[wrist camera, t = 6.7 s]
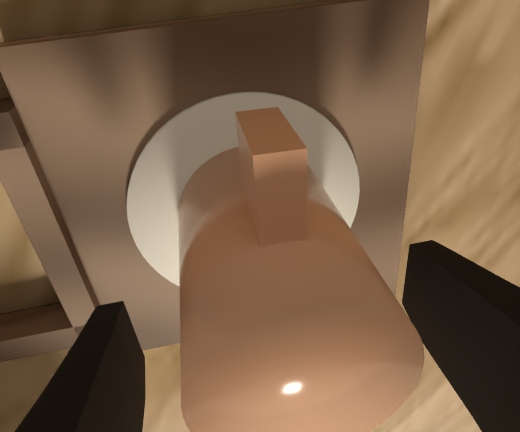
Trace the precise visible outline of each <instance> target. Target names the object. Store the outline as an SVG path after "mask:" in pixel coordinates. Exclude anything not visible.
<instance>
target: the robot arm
mask: <svg viewBox="0 0 520 432" xmlns="http://www.w3.org/2000/svg"><path fill="white" fill-rule="evenodd" d="M402 304H403V306H404V308H405V310H406V312H407V314H408V316H409V318H410V320H411V322H412V324H413V325H414V327H415V328H416V330H417V332H418V333H419V335H420V337H421V340H422V342H423V344H424V345H425V347H426V348H427V350H428V351H429V353H430V354H431V356H432V357H433V359H434V360H435V362H436V363H437V365H438V366H439V368H440V369H441V371H442V372H443V374H444V375H445V377H446V378H447V380H448V381H449V382H450V384H451V385H452V387H453V388H454V390H455V391H456V393H457V394H458V396H459V397H460V399H461V400H462V402H463V403H464V405H465V406H466V408H467V409H468V411H469V412H470V413H471V415H472V416H473V418H474V420H475V421H476V423H477V424H478V426H479V428H480V429H481V431H482V432H520V287H518V286H516V285H514V284H512V283H510V282H508V281H506V280H505V279H503V278H501V277H499V276H497V275H495V274H494V273H492V272H490V271H488V270H486V269H484V268H483V267H481V266H479V265H477V264H476V263H474V262H472V261H470V260H468V259H467V258H465V257H463V256H461V255H459V254H458V253H456V252H454V251H452V250H450V249H448V248H447V247H445V246H443V245H441V244H439V243H437V242H435V241H433V240H430V241H425V242H420V243H415V244H410V246H409V253H408V261H407V269H406V276H405V284H404V292H403V299H402ZM144 407H145V357H144V354H143V351H142V349H141V346H140V343H139V341H138V338H137V336H136V333H135V330H134V328H133V325H132V322H131V320H130V317H129V314H128V312H127V309H126V307H125V304H124V301H119V302H114V303H109V304H104V305H99V306H97V307H96V308H95V309H94V311H93V312H92V314H91V316H90V317H89V319H88V321H87V322H86V324H85V326H84V327H83V329H82V331H81V332H80V334H79V336H78V337H77V339H76V341H75V342H74V344H73V346H72V347H71V349H70V350H69V352H68V354H67V355H66V357H65V358H64V360H63V362H62V363H61V365H60V366H59V368H58V369H57V371H56V372H55V374H54V376H53V377H52V379H51V380H50V382H49V383H48V385H47V386H46V388H45V389H44V391H43V392H42V394H41V395H40V397H39V398H38V400H37V401H36V402H35V404H34V405H33V407H32V408H31V409H30V411H29V412H28V414H27V415H26V417H25V418H24V419H23V421H22V422H21V424H20V425H19V426H18V428H17V429H16V431H15V432H142V427H143V417H144Z"/></svg>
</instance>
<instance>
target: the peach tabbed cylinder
mask: <svg viewBox="0 0 520 432" xmlns="http://www.w3.org/2000/svg"><path fill="white" fill-rule="evenodd" d="M235 117H236V127H237V137H238V147H235V148H232V149H229V150H226V151H224V152H221V153H219V154H217V155H215V156H214V157H212V158H211V159H209V160H207V161H206V162H205V163H204V164H202V165H201V166H200V167H199V168H198V169H197V170H196V171H195V172H194V173H193V175H192V176H191V177H190V179H189V180H188V182H187V183H186V185H185V187H184V189H183V192H182V194H181V197H180V201H179V207H178V235H179V294H180V353H181V407H182V413H183V418H184V420H185V422H186V425H187V427H188V428H189V430H190V431H191V432H369V431H371V430H372V429H374V428H375V427H377V426H378V425H380V424H381V423H382V422H384V421H385V420H386V419H387V418H389V417H390V416H391V415H392V414H393V413H394V412H395V411H396V410H397V409H398V408H399V407H401V405H402V404H403V403H404V402H405V401H406V400H407V398H408V397H409V396H410V394H411V393H412V391H413V390H414V388H415V386H416V384H417V382H418V380H419V378H420V376H421V372H422V369H423V364H424V347H423V343H422V340H421V337H420V335H419V333H418V332H417V330H416V328H415V327H414V325H413V324H412V322H411V321H410V319H409V317H408V316H407V314H406V313H405V311H404V310H403V308H402V307H401V305H400V304H399V302H398V301H397V299H396V298H395V296H394V295H393V293H392V292H391V290H390V288H389V287H388V285H387V284H386V282H385V281H384V279H383V278H382V276H381V275H380V273H379V272H378V270H377V269H376V267H375V266H374V264H373V263H372V261H371V260H370V258H369V256H368V255H367V253H366V252H365V250H364V249H363V247H362V246H361V244H360V243H359V241H358V240H357V238H356V237H355V235H354V234H353V232H352V231H351V229H350V227H349V226H348V224H347V223H346V221H345V220H344V218H343V217H342V215H341V214H340V212H339V211H338V209H337V208H336V206H335V205H334V203H333V202H332V200H331V198H330V197H329V195H328V194H327V192H326V191H325V189H324V188H323V186H322V185H321V183H320V182H319V180H318V179H317V177H316V176H315V174H314V173H313V171H312V170H311V169H310V167H309V166H308V165H307V147H306V146H305V144H304V143H303V142H302V140H301V139H300V137H299V136H298V135H297V133H296V132H295V130H294V129H293V127H292V126H291V125H290V123H289V122H288V120H287V119H286V118H285V116H284V115H283V113H282V112H281V110H280V109H279V108H278V107H272V108H263V109H255V110H247V111H238V112H235Z"/></svg>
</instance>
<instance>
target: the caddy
mask: <svg viewBox="0 0 520 432" xmlns="http://www.w3.org/2000/svg"><path fill="white" fill-rule="evenodd" d="M428 8H429V0H331V1H323V2H315V3H308V4H300V5H292V6H284V7H276V8H268V9H260V10H253V11H245V12H237V13H229V14H221V15H213V16H205V17H198V18H190V19H182V20H174V21H166V22H158V23H150V24H143V25H135V26H127V27H119V28H111V29H103V30H95V31H88V32H80V33H72V34H64V35H56V36H48V37H40V38H32V39H25V40H17V41H9V42H3V43H1V44H0V72H1V74H2V77H3V79H4V81H5V84H6V86H7V88H8V91H9V93H10V95H11V98H9V99H2V100H0V180H1V182H2V184H3V187H4V189H5V191H6V193H7V195H8V197H9V199H10V201H11V203H12V205H13V207H14V209H15V211H16V213H17V215H18V217H19V219H20V221H21V223H22V225H23V227H24V229H25V231H26V233H27V235H28V237H29V239H30V241H31V243H32V245H33V247H34V249H35V251H36V253H37V255H38V257H39V259H40V261H41V263H42V265H43V268H44V270H45V272H46V274H47V276H48V278H49V280H50V282H51V284H52V286H53V288H54V290H55V292H56V294H57V296H58V298H59V300H60V302H61V303H58V304H53V305H48V306H43V307H38V308H32V309H27V310H22V311H17V312H11V313H6V314H1V315H0V362H3V361H8V360H13V359H17V358H22V357H27V356H32V355H37V354H42V353H47V352H52V351H57V350H62V349H67V348H71V347H72V346H73V344H74V342H75V341H76V339H77V337H78V336H79V334H80V332H81V331H82V329H83V327H84V326H85V324H86V322H87V321H88V319H89V317H90V316H91V314H92V312H93V311H94V309H95V308H96V307H97V306H99V305H104V304H109V303H114V302H119V301H124V304H125V307H126V309H127V312H128V314H129V317H130V320H131V322H132V325H133V328H134V330H135V333H136V336H137V338H138V341H139V343H140V346H141V349H142V351H143V350H147V349H152V348H157V347H162V346H167V345H171V344H176V343H180V294H179V235H178V207H179V201H180V197H181V194H182V192H183V189H184V187H185V185H186V183H187V182H188V180H189V179H190V177H191V176H192V175H193V173H194V172H195V171H196V170H197V169H198V168H199V167H200V166H201V165H202V164H204V163H205V162H206V161H207V160H209V159H211V158H212V157H214V156H215V155H217V154H219V153H221V152H224V151H226V150H229V149H232V148H235V147H238V137H237V127H236V117H235V112H238V111H247V110H255V109H263V108H272V107H278V108H279V109H280V110H281V112H282V113H283V115H284V116H285V118H286V119H287V120H288V122H289V123H290V125H291V126H292V127H293V129H294V130H295V132H296V133H297V135H298V136H299V137H300V139H301V140H302V142H303V143H304V144H305V146H306V147H307V165H308V166H309V167H310V169H311V170H312V171H313V173H314V174H315V176H316V177H317V179H318V180H319V182H320V183H321V185H322V186H323V188H324V189H325V191H326V192H327V194H328V195H329V197H330V198H331V200H332V202H333V203H334V205H335V206H336V208H337V209H338V211H339V212H340V214H341V215H342V217H343V218H344V220H345V221H346V223H347V224H348V226H349V227H350V229H351V231H352V232H353V234H354V235H355V237H356V238H357V240H358V241H359V243H360V244H361V246H362V247H363V249H364V250H365V252H366V253H367V255H368V256H369V258H370V260H371V261H372V263H373V264H374V266H375V267H376V269H377V270H378V272H379V273H380V275H381V276H382V278H383V279H384V281H385V282H386V284H387V285H388V287H389V288H390V290H391V292H392V293H393V295H394V296H395V294H396V285H397V276H398V268H399V259H400V250H401V242H402V233H403V224H404V216H405V207H406V198H407V190H408V181H409V172H410V164H411V155H412V147H413V138H414V129H415V121H416V112H417V103H418V95H419V86H420V77H421V69H422V60H423V51H424V43H425V34H426V25H427V17H428Z"/></svg>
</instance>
